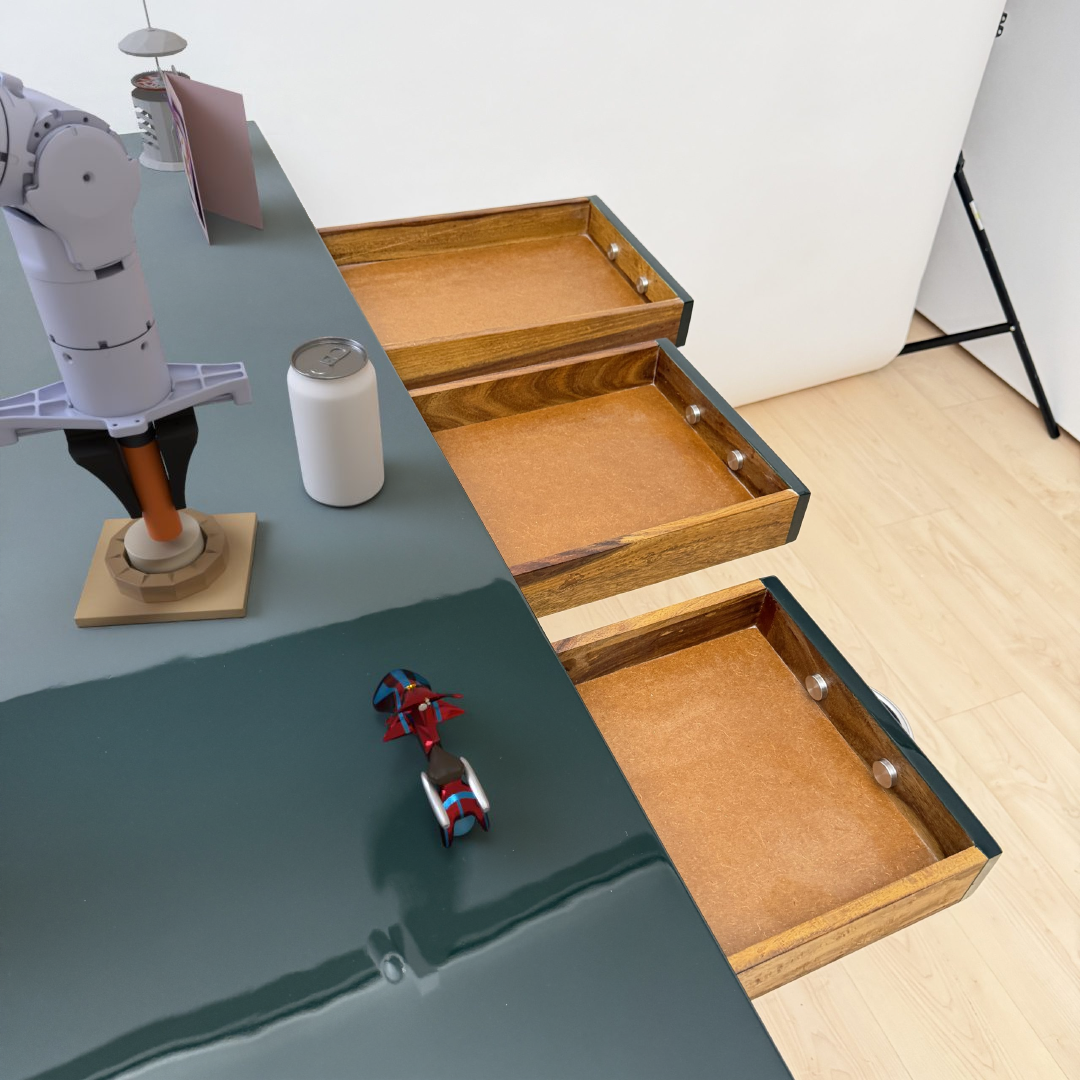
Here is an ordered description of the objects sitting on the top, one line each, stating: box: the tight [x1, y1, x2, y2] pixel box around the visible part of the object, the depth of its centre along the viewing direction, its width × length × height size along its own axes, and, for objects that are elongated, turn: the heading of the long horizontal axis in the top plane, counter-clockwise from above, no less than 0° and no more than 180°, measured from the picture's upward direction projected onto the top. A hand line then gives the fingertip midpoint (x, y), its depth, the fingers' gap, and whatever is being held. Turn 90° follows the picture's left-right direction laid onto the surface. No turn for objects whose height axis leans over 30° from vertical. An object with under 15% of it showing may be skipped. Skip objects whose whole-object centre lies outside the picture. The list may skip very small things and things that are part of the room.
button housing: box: [73, 508, 259, 628], centre depth 64 cm, size 11×10×2 cm
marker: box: [116, 421, 183, 542], centre depth 59 cm, size 2×2×9 cm
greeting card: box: [162, 72, 265, 246], centre depth 101 cm, size 11×7×15 cm, turn 25°
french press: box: [117, 0, 191, 173], centre depth 111 cm, size 10×12×25 cm
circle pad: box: [124, 512, 204, 574], centre depth 63 cm, size 5×5×2 cm
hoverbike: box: [371, 668, 491, 849], centre depth 52 cm, size 5×12×6 cm, turn 26°
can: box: [286, 336, 385, 508], centre depth 69 cm, size 6×6×12 cm
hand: (157, 504), depth 60 cm, fingers closed on marker, 2 cm apart
